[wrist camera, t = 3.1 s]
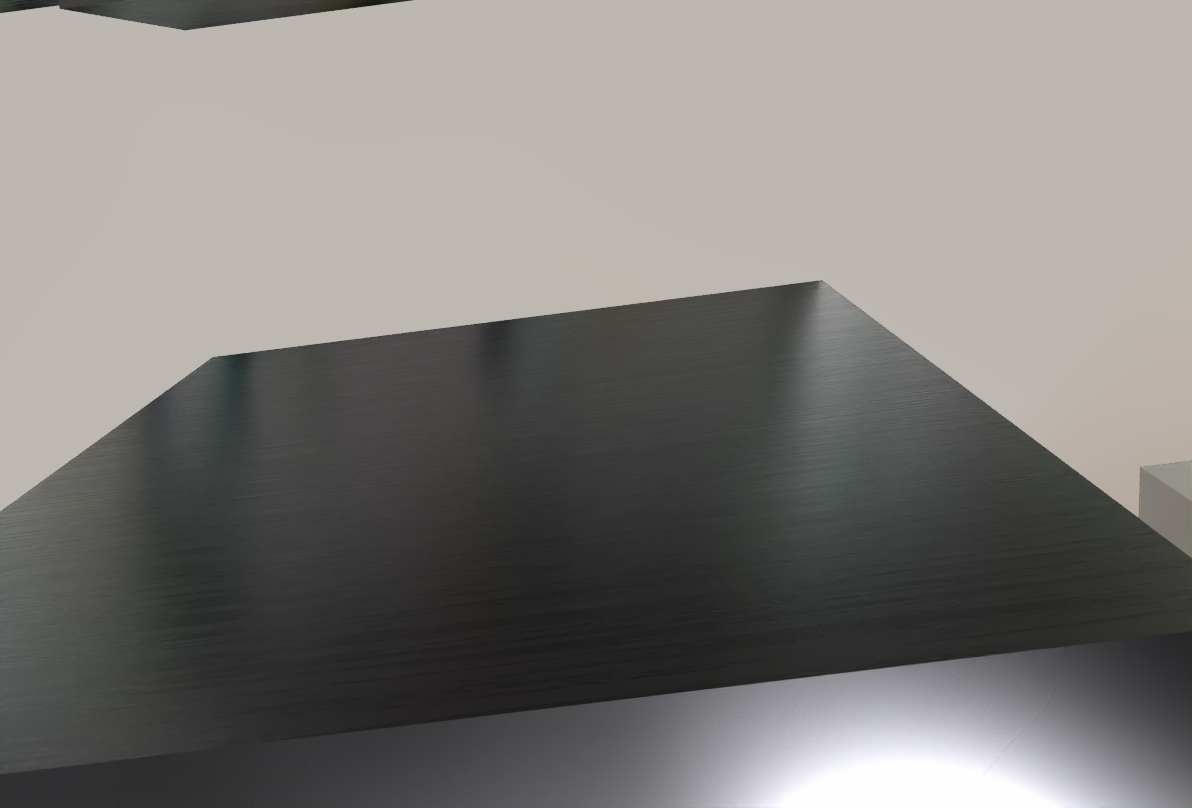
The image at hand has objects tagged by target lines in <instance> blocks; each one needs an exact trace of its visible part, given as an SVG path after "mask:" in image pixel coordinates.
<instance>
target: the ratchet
mask: <svg viewBox="0 0 1192 808" xmlns="http://www.w3.org/2000/svg"><path fill="white" fill-rule="evenodd" d="M403 1H411V0H0V13H4V12H12V11H20V10H27V9H35V8H42V7H49V6H57V5H59V7H60V9H65V10H71V11H77V12H83V13H89V14H94V15H100V16H106V17H112V18H118V19H123V20H129V21H136V22H141V23H147V24H153V25H158V26H165V27H170V28H176V29H182V30H190V29H198V28H205V27H213V26H220V25H228V24H236V23H244V22H251V21H259V20H266V19H274V18H281V17H289V16H296V15H304V14H311V13H319V12H327V11H335V10H342V9H350V8H358V7H365V6H373V5H380V4H388V3H396V2H403Z"/></svg>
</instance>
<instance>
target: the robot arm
mask: <svg viewBox="0 0 1192 808" xmlns="http://www.w3.org/2000/svg"><path fill="white" fill-rule="evenodd" d="M1139 519H1140V520H1142V521H1143V522H1144V523H1146V524H1147V525H1148V526H1150V527H1151V528H1152V529H1154V530H1155V531H1156V532H1158V533H1159V534H1160V535H1162V536H1163V537H1164V538H1166V539H1167V540H1168V541H1170V542H1171V543H1172V544H1174V545H1175V546H1176V547H1178V548H1179V549H1180V550H1182V551H1183V552H1184V553H1186V554H1187V555H1188V556H1190V557H1191V558H1192V461H1185V462H1178V463H1170V464H1162V465H1153V466H1145V467H1140V495H1139Z"/></svg>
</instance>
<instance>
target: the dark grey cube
mask: <svg viewBox="0 0 1192 808" xmlns="http://www.w3.org/2000/svg"><path fill="white" fill-rule="evenodd" d="M0 808H1192V558H1191V557H1190V556H1188V555H1187V554H1186V553H1184V552H1183V551H1182V550H1180V549H1179V548H1178V547H1176V546H1175V545H1174V544H1172V543H1171V542H1170V541H1168V540H1167V539H1166V538H1164V537H1163V536H1162V535H1160V534H1159V533H1158V532H1156V531H1155V530H1154V529H1152V528H1151V527H1150V526H1148V525H1147V524H1146V523H1144V522H1143V521H1142V520H1140V519H1139V518H1138V517H1136V516H1135V515H1134V514H1132V513H1131V512H1130V511H1128V510H1127V509H1126V508H1124V507H1123V506H1122V505H1120V504H1119V503H1118V502H1116V501H1115V500H1114V499H1112V498H1111V497H1109V496H1108V495H1107V494H1106V493H1104V492H1103V491H1102V490H1100V489H1099V488H1098V487H1096V486H1095V485H1094V484H1092V483H1091V482H1090V481H1088V480H1087V479H1086V478H1084V477H1083V476H1082V475H1080V474H1079V473H1078V472H1076V471H1075V470H1074V469H1072V468H1071V467H1070V466H1069V465H1067V464H1066V463H1065V462H1063V461H1062V460H1060V459H1059V458H1058V457H1057V456H1055V455H1054V454H1053V453H1051V452H1050V451H1049V450H1047V449H1046V448H1045V447H1043V446H1042V445H1041V444H1039V443H1038V442H1037V441H1035V440H1034V439H1033V438H1031V437H1030V436H1029V435H1027V434H1026V433H1025V432H1023V431H1022V430H1021V429H1019V428H1018V427H1017V426H1015V425H1014V424H1013V423H1011V422H1010V421H1008V420H1007V419H1006V418H1004V417H1003V416H1002V415H1000V414H999V413H998V412H997V411H995V410H994V409H992V408H991V407H990V406H989V405H987V404H986V403H985V402H983V401H982V400H981V399H979V398H978V397H976V396H975V395H974V394H973V393H971V392H970V391H969V390H967V389H966V388H965V387H963V386H962V385H961V384H959V383H958V382H957V381H955V380H954V379H953V378H951V377H950V376H948V375H947V374H946V373H945V372H943V371H942V370H941V369H939V368H938V367H936V366H935V365H934V364H933V363H931V362H930V361H929V360H927V359H926V358H925V357H923V356H922V355H921V354H919V353H918V352H917V351H915V350H914V349H913V348H911V347H910V346H909V345H907V344H906V343H905V342H903V341H902V340H901V339H899V338H898V337H897V336H895V335H894V334H893V333H891V332H890V331H889V330H887V329H886V328H885V327H883V326H882V325H881V324H879V323H878V322H877V321H875V320H874V319H873V318H871V317H870V316H869V315H867V314H866V313H865V312H863V311H862V310H861V309H859V308H858V307H857V306H855V305H854V304H853V303H851V302H850V301H849V300H847V299H846V298H845V297H843V296H842V295H841V294H839V293H838V292H837V291H835V290H834V289H833V288H831V287H830V286H829V285H827V284H826V283H825V282H823V281H822V280H821V281H813V282H806V283H797V284H789V285H782V286H774V287H766V288H758V289H750V290H742V291H734V292H726V293H718V294H710V295H702V296H694V297H686V298H679V299H671V300H663V301H655V302H647V303H639V304H631V305H623V306H615V307H607V308H600V309H592V310H585V311H576V312H568V313H560V314H553V315H544V316H536V317H528V318H520V319H513V320H504V321H496V322H488V323H481V324H473V325H465V326H458V327H450V328H441V329H433V330H425V331H417V332H409V333H402V334H393V335H386V336H378V337H370V338H362V339H354V340H346V341H338V342H331V343H322V344H314V345H307V346H298V347H291V348H282V349H275V350H267V351H259V352H251V353H243V354H235V355H227V356H219V357H213V358H211V359H210V360H209V361H207V362H206V363H204V364H203V365H202V366H200V367H199V368H197V369H196V370H195V371H194V372H192V373H191V374H189V375H188V376H186V377H185V378H184V379H182V380H181V381H180V382H178V383H177V384H175V385H174V386H173V387H172V388H170V389H169V390H167V391H166V392H164V393H163V394H162V395H160V396H159V397H158V398H156V399H155V400H153V401H152V402H151V403H149V404H148V405H147V406H145V407H144V408H142V409H141V410H140V411H138V412H137V413H136V414H134V415H133V416H131V417H130V418H129V419H127V420H126V421H125V422H123V423H122V424H120V425H119V426H118V427H116V428H115V429H114V430H112V431H111V432H110V433H108V434H107V435H105V436H104V437H102V438H101V439H100V440H98V441H97V442H96V443H94V444H93V445H91V446H90V447H89V448H87V449H86V450H85V451H83V452H82V453H80V454H79V455H78V456H76V457H75V458H74V459H72V460H71V461H69V462H68V463H67V464H65V465H64V466H63V467H61V468H60V469H59V470H57V471H56V472H54V473H53V474H52V475H50V476H49V477H47V478H46V479H45V480H43V481H42V482H41V483H39V484H38V485H36V486H35V487H34V488H32V489H31V490H30V491H28V492H27V493H25V494H24V495H23V496H21V497H20V498H19V499H17V500H16V501H15V502H13V503H12V504H10V505H9V506H7V508H5V509H3V510H2V511H1V512H0Z"/></svg>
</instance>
